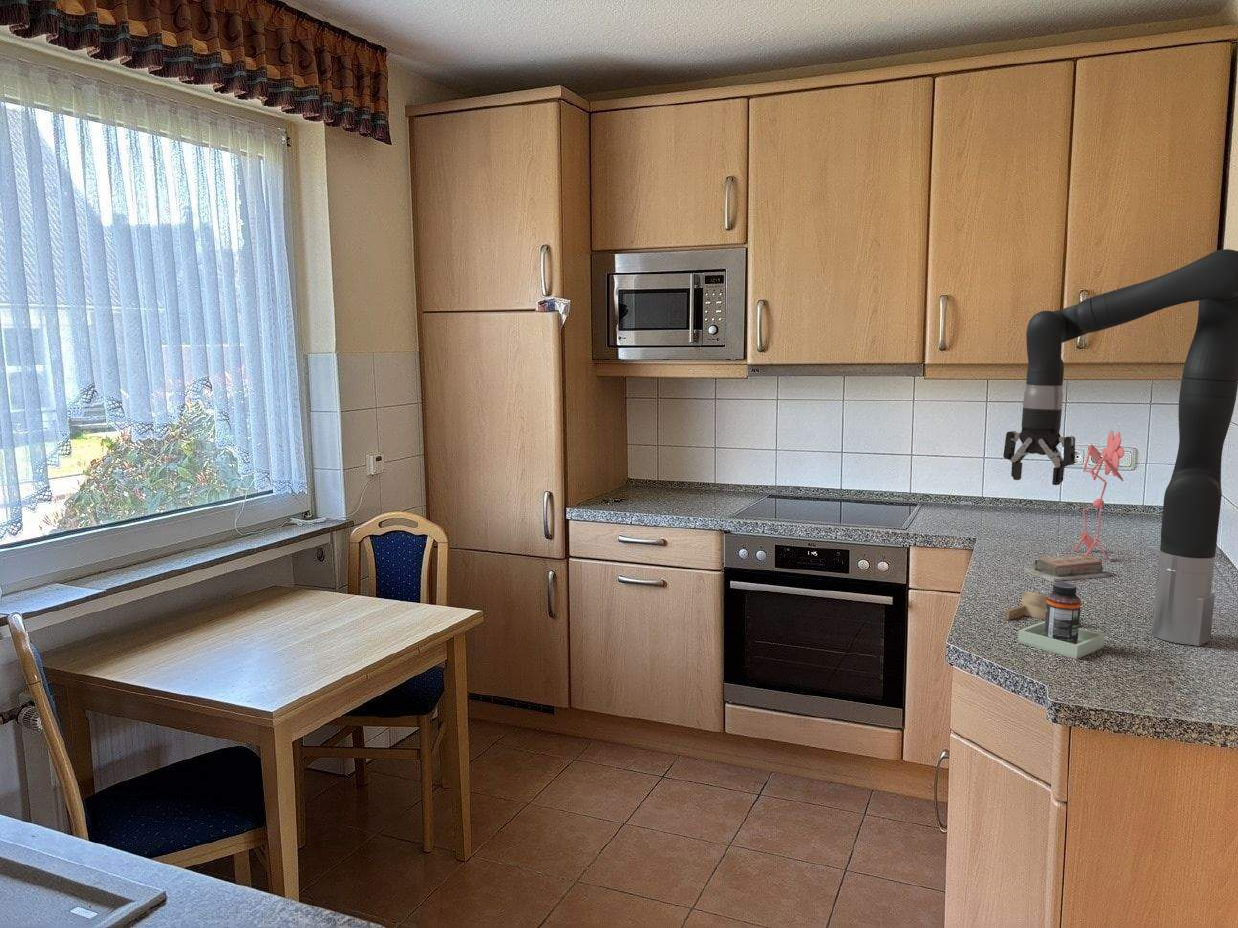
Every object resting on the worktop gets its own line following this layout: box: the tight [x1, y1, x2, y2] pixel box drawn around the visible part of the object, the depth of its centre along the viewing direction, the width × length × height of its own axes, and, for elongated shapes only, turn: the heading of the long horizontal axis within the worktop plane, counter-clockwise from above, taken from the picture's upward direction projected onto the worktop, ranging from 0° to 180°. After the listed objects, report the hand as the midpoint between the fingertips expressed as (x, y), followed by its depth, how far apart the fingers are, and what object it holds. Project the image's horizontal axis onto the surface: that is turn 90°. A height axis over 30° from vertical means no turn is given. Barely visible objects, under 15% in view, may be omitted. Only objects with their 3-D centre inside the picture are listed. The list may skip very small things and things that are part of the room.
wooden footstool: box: [1004, 590, 1048, 622], centre depth 188 cm, size 10×8×5 cm
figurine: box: [1072, 430, 1125, 562], centre depth 248 cm, size 15×26×35 cm, turn 170°
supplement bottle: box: [1044, 581, 1082, 644], centre depth 174 cm, size 6×6×11 cm
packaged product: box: [1023, 554, 1110, 582], centre depth 230 cm, size 18×5×10 cm
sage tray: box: [1017, 620, 1106, 660], centre depth 174 cm, size 11×11×2 cm
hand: (1036, 482), depth 194 cm, fingers open, 8 cm apart
